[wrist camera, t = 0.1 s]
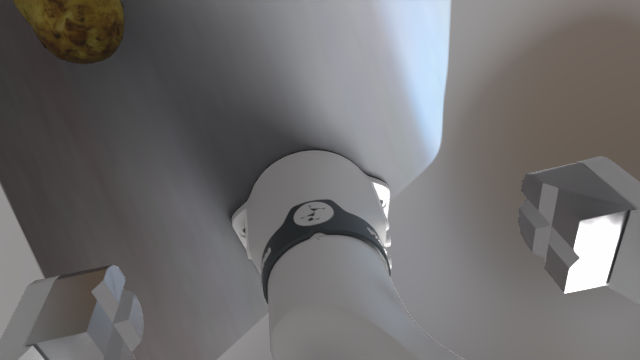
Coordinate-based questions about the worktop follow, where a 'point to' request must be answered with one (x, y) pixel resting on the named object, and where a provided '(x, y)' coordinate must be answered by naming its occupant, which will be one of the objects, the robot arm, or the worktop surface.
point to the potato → (76, 27)
